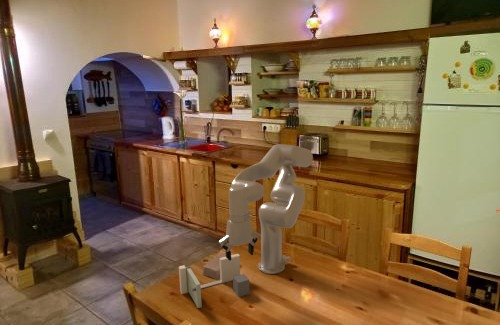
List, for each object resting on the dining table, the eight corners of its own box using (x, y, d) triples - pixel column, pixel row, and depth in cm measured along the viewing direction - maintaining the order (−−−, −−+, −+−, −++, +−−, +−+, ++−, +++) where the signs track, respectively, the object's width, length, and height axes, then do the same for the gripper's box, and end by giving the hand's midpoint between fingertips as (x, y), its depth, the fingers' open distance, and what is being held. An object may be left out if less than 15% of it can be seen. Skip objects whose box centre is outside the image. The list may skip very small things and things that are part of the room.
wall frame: (238, 275, 162) (237, 252, 160) (240, 278, 160) (239, 254, 158) (180, 291, 151) (178, 266, 149) (181, 294, 149) (180, 269, 146)
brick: (217, 279, 160) (216, 270, 159) (202, 275, 164) (201, 265, 163) (236, 263, 174) (236, 254, 173) (222, 259, 178) (222, 250, 177)
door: (201, 307, 140) (200, 283, 137) (194, 309, 138) (193, 285, 136) (190, 287, 153) (189, 266, 150) (184, 289, 152) (182, 267, 149)
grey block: (244, 287, 153) (244, 273, 152) (249, 293, 149) (249, 279, 147) (233, 290, 151) (233, 276, 150) (238, 297, 147) (237, 282, 145)
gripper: (254, 210, 149) (255, 248, 153) (215, 217, 142) (216, 257, 146) (262, 216, 143) (263, 255, 147) (221, 224, 136) (223, 265, 139)
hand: (240, 256), depth 146 cm, fingers open, 9 cm apart
